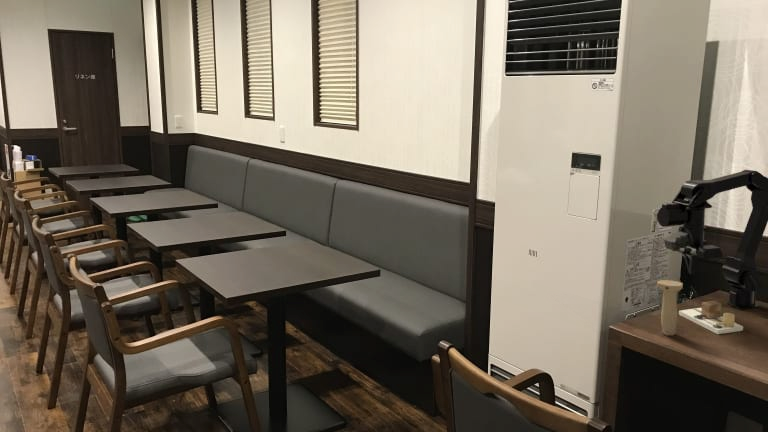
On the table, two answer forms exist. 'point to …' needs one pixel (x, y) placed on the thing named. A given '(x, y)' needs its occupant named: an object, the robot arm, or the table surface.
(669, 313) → the handle
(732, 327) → the bolt plate
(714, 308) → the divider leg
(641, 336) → the table surface
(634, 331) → the table surface
